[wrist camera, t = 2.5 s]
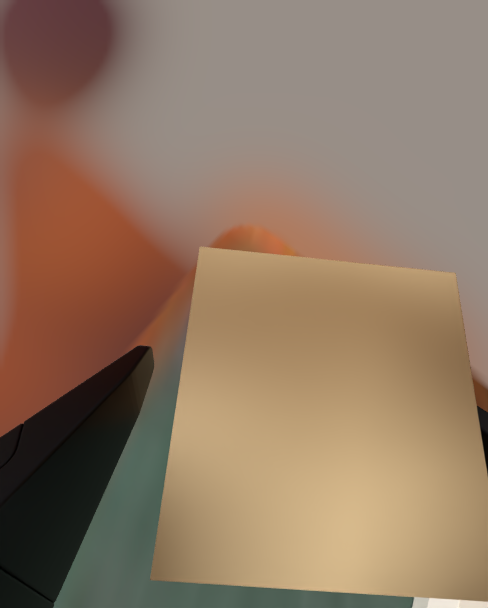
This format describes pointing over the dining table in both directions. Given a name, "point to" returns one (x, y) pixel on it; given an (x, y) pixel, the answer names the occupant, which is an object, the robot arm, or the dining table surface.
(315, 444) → the oak block
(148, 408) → the dining table surface
